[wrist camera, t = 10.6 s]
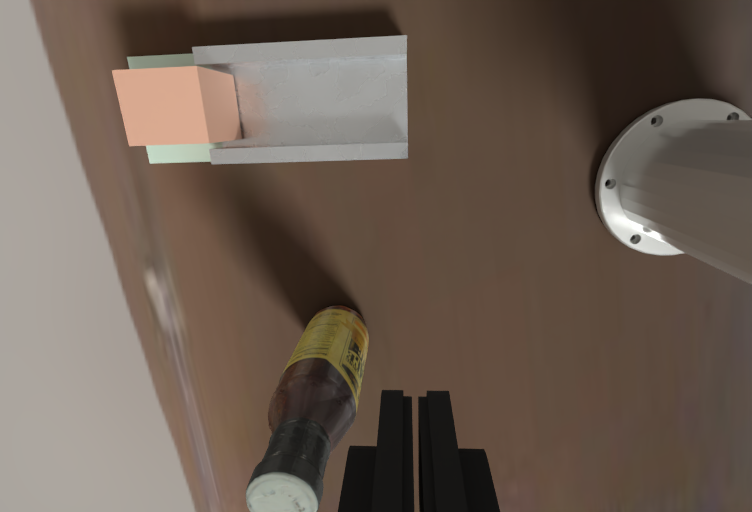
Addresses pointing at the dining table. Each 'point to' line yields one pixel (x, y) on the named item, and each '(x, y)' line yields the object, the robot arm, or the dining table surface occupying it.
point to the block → (177, 105)
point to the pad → (176, 151)
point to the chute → (315, 99)
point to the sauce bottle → (311, 412)
